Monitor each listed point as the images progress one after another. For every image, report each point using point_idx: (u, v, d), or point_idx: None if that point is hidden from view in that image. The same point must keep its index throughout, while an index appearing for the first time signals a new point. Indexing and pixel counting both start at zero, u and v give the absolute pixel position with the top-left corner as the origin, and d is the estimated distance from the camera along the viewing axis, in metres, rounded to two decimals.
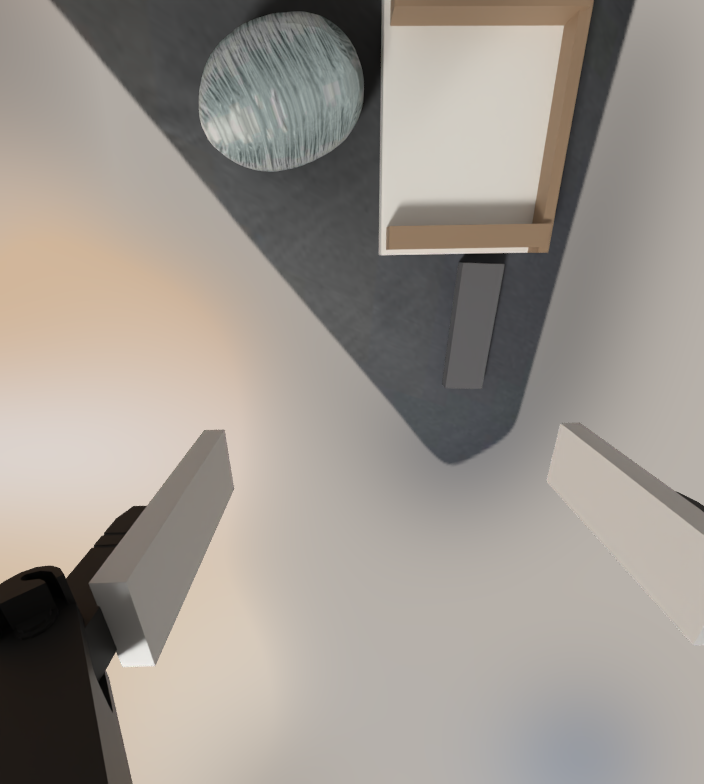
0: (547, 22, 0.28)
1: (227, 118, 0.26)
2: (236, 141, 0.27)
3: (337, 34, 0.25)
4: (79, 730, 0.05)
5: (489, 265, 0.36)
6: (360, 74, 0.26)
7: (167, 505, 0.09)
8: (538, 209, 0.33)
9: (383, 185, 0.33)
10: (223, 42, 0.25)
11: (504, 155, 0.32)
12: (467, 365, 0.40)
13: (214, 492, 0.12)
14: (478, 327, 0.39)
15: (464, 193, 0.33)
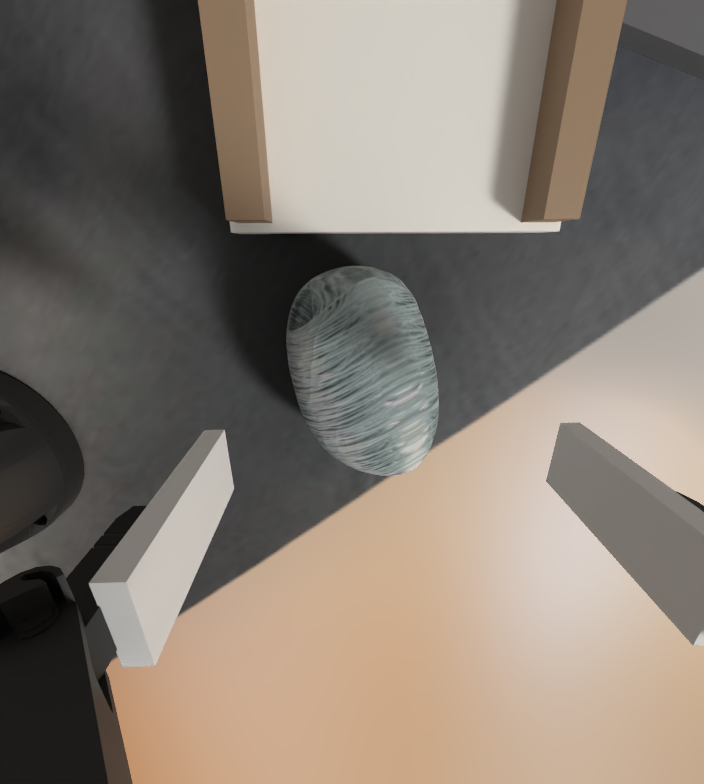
0: None
1: (407, 455, 0.21)
2: (425, 443, 0.21)
3: (318, 312, 0.18)
4: (79, 730, 0.05)
5: None
6: (355, 275, 0.18)
7: (167, 505, 0.09)
8: None
9: (461, 228, 0.21)
10: (327, 447, 0.21)
11: None
12: None
13: (214, 492, 0.12)
14: None
15: (491, 65, 0.18)
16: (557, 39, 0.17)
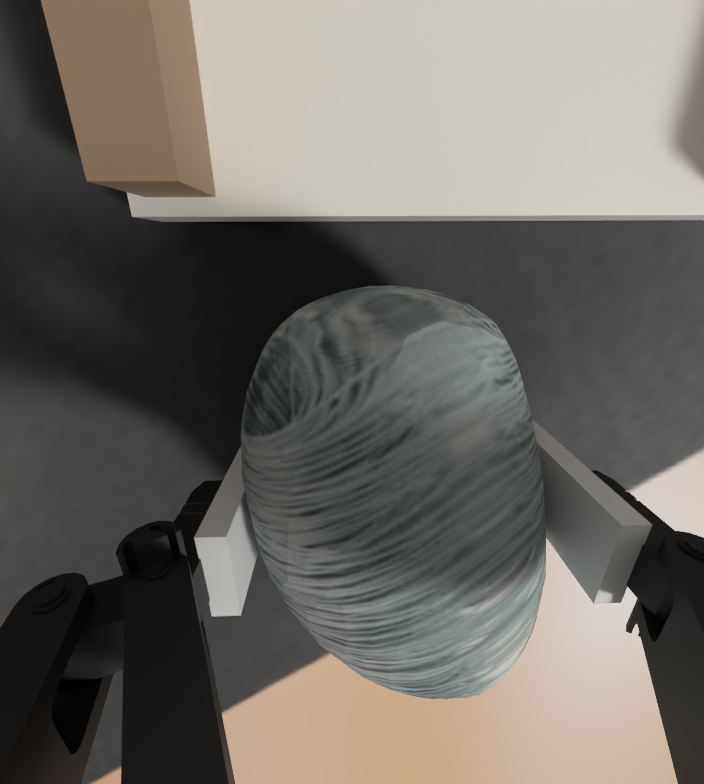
0: None
1: (492, 679, 0.10)
2: (525, 645, 0.11)
3: (305, 410, 0.07)
4: (192, 665, 0.06)
5: None
6: (398, 315, 0.07)
7: None
8: None
9: (600, 208, 0.10)
10: (326, 649, 0.10)
11: None
12: None
13: None
14: None
15: None
16: None
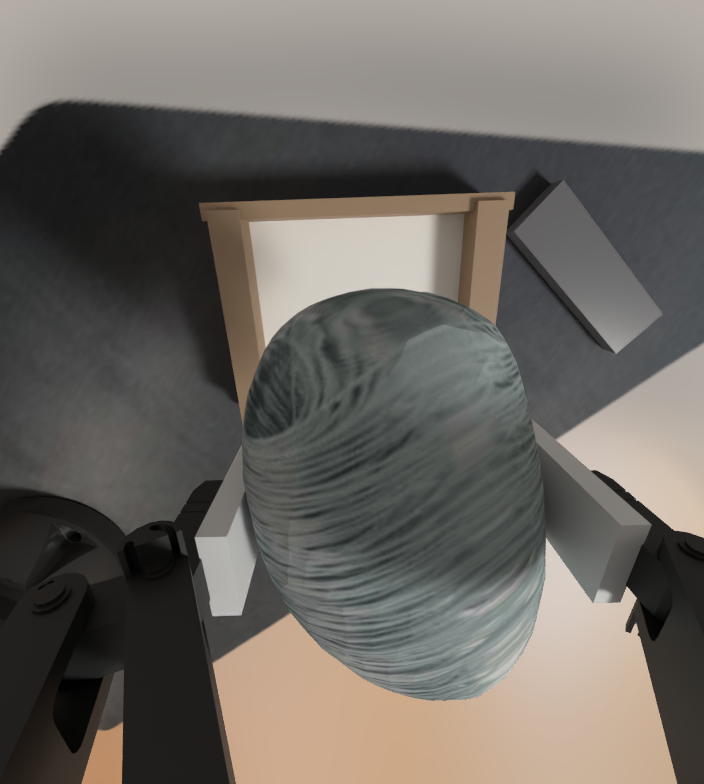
0: (251, 247, 0.24)
1: (492, 681, 0.10)
2: (524, 646, 0.11)
3: (306, 413, 0.07)
4: (193, 665, 0.06)
5: (546, 200, 0.25)
6: (399, 319, 0.07)
7: (242, 477, 0.10)
8: (448, 213, 0.24)
9: None
10: (326, 651, 0.11)
11: (380, 272, 0.26)
12: (620, 310, 0.28)
13: None
14: (595, 266, 0.27)
15: None
16: None
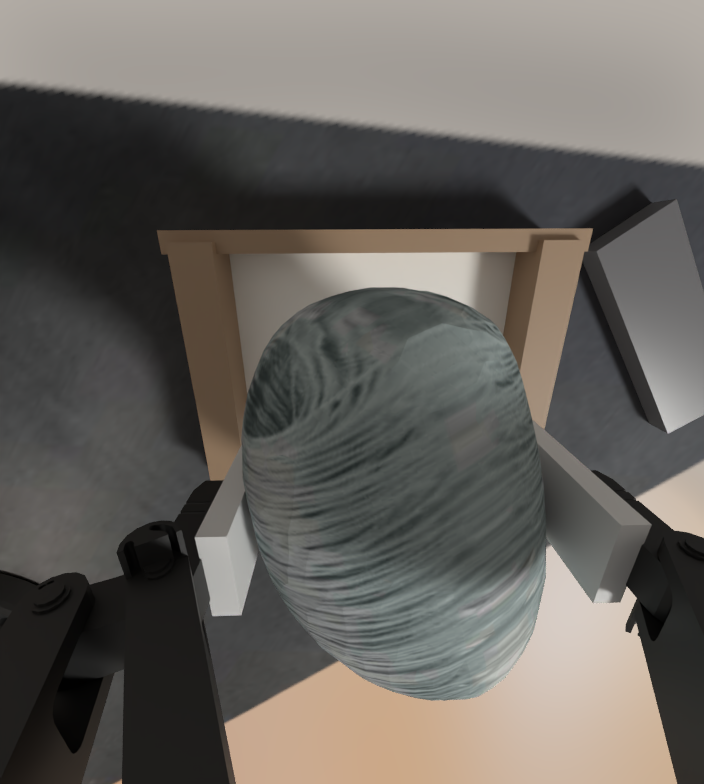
0: (231, 287, 0.18)
1: (492, 681, 0.10)
2: (524, 646, 0.11)
3: (306, 411, 0.07)
4: (193, 665, 0.06)
5: (647, 221, 0.19)
6: (399, 317, 0.07)
7: (242, 477, 0.10)
8: None
9: None
10: None
11: None
12: (689, 383, 0.22)
13: None
14: (678, 322, 0.21)
15: None
16: None
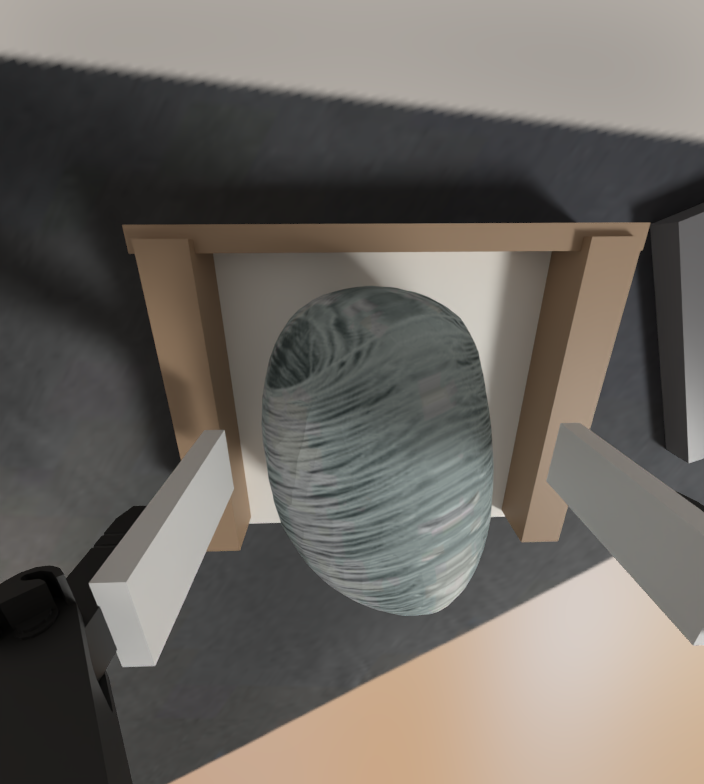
0: (215, 293, 0.15)
1: (441, 597, 0.13)
2: (469, 576, 0.13)
3: (320, 368, 0.10)
4: (79, 730, 0.05)
5: None
6: (392, 307, 0.10)
7: (167, 505, 0.09)
8: None
9: None
10: (314, 569, 0.13)
11: None
12: None
13: (214, 492, 0.12)
14: None
15: None
16: (533, 388, 0.17)
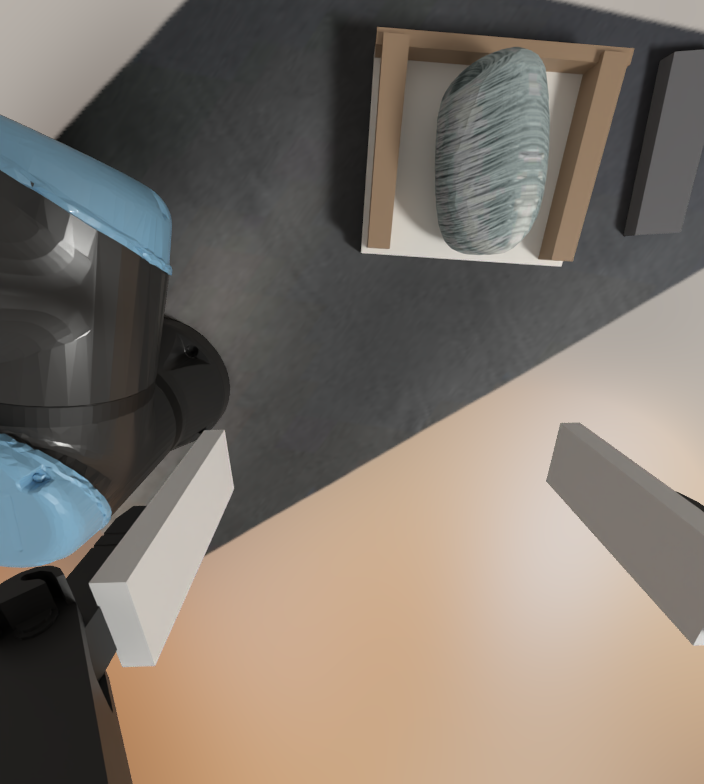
0: None
1: (519, 217, 0.26)
2: (532, 216, 0.27)
3: (488, 66, 0.23)
4: (79, 730, 0.05)
5: None
6: (518, 47, 0.24)
7: (167, 505, 0.09)
8: (572, 68, 0.28)
9: (501, 260, 0.34)
10: (456, 204, 0.27)
11: None
12: (665, 199, 0.33)
13: (214, 492, 0.12)
14: (684, 144, 0.31)
15: None
16: (566, 160, 0.31)
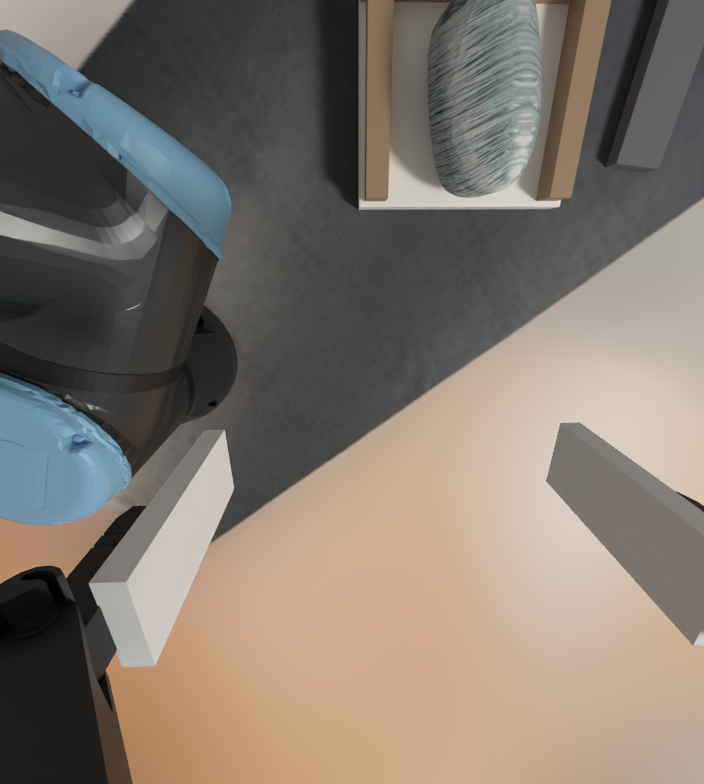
0: None
1: (517, 147, 0.26)
2: (529, 147, 0.27)
3: None
4: (79, 730, 0.05)
5: None
6: None
7: (167, 505, 0.09)
8: None
9: (499, 204, 0.35)
10: (453, 140, 0.27)
11: None
12: (650, 130, 0.33)
13: (214, 492, 0.12)
14: (675, 72, 0.31)
15: None
16: (558, 95, 0.31)
